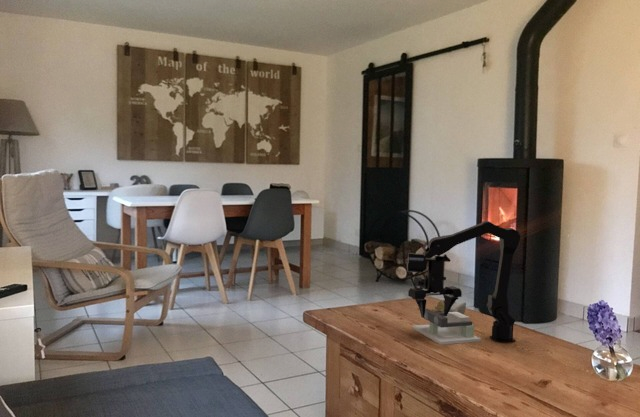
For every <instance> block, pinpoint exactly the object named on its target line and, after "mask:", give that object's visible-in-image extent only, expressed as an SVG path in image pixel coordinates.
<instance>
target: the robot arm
mask: <svg viewBox="0 0 640 417" xmlns="http://www.w3.org/2000/svg"><path fill="white" fill-rule="evenodd" d="M486 234H489V235H492V236H494V237H497V238H499V248H500V254H499V263H498V267H497V268H498V269H497V275H496V282H495V285H494V286H495V287H494V288H495V289H494V292H493V293H492V295H491V294H488V296H487V303H486V307H487V309H488V312H489V314H490V315H491V316H493V319H494V321H493V322H492V327H491V335H489V338H490V339H493V340H495V341H497V342H498V343H509V342H510V343H511V342H516V338H514V324H515V323H516V319H515V318H513V316H512V315H511V314H510V310H509V309H510V308H509V307H510V305H509V299H508V298H509V297H508V292H509V285H510V278H511V273H512V267H513V266H512V265H513V260H514V255H515V253H516V251H517V249H518V247H519V245H520V241H521V233H520V232H519V231H518V230H517V229H515V228H512V227H501V226H499V225H497V224H494V223H493V222H491V221H489V220H484V221H482V222H480V223H478V224H475V225H473V226H470V227H467V228H465V229H462V230H460V231H457V232H455V233H452V234H447V235H441V236H435V237H432V238H431V239H430V240H429V241H428V245H427V247H426V248H425V250H424V251H423V252H422V253H413V252H408V253H407V254H408V255H407V261H406V272H407V273H419V274H420V273H424V272H425V271H427V274H425V277H424V278H422V277H421V276H418V277H415V279H414V285H415V287H411V288H409V290H407V291H408V293H407V295H408V297H410V298H411V299H413V300H415V302H416V303H417V306H418V310H419V314H420V316H422V317H424V315H425V309H427V308H426V307H427V306H426V305H427V299H426V298H427V296H443V299H445V303H444V315H445V316H447V314H448V312H449V311H450V309H451V307H452V305H453V304H454V302H456V300H459V298H461V297H462V296H463V292H462V290H461V288H459V287H457V286H453V285H452V286H449V285H448V286H444V284H445V281H447V277H446V276H445V265H446V263H445V262H447V263H449V262H451V258H449V257H448V255H447V254H446V253H447V252H449V251H450V250H452V249H453V248H454V247H456V246H457V245H461V244H462V243H465V242H468V241H470V240H473V239H475V238H478V237H480V236H483V235H486ZM422 317H421V318H422Z"/></svg>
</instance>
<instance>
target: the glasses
mask: <svg viewBox="0 0 640 417" xmlns="http://www.w3.org/2000/svg"><path fill="white" fill-rule="evenodd" d="M431 310H432V309H430V308H425V315H424V317H422V316H421V315H420V316H421V318H423V319H424V320H427V321H428V322H429V323H430V322H432V323H434V324H435V325H437V326H439V327H441V328H442V327H456V326H469V325H473V321H472V320H469V321H464V322H450V323H448V318H445V317H443V316H445V315H444V312H441V313H435V312H433V311H431Z"/></svg>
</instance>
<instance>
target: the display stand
mask: <svg viewBox="0 0 640 417" xmlns="http://www.w3.org/2000/svg"><path fill="white" fill-rule="evenodd" d="M443 317H445V318H448V323H450V322H464V321H470V317H469V316H467V315H465V314H461V313H459V312H448V314H447V316H443ZM412 329H413V330H414V331H416V332H418V333H420V334H421V335H422V336H425V337H427V338H428V339H430V340H432V341H434V342H435V343H436V344H439V345H440V346H443V345H454V344H465V343H478V342H482V338H481V337H479V336H476V335H475V325H473V324H472V325H469V326H456V327H442V328H441V327H439V326H437V325H435V324H434V323H432V322H430V321H429V323H428V324H418V325H417V324H415V325H412Z"/></svg>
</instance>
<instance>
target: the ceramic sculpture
mask: <svg viewBox="0 0 640 417" xmlns="http://www.w3.org/2000/svg"><path fill="white" fill-rule="evenodd" d="M444 303H445V299H444V298H443V299H441V300H439V301H438V302H437V305H436V306H434V308H433V309H430V310H431V311H433V312H435V313H441V312H444ZM466 306H467V303H466V302H461V303H458V302H456V301H455V302H454V304H453V305H452V307H451V309H450V311H449V312H459V313H461V314H463V315H465V312H466V309H467V308H466Z"/></svg>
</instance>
